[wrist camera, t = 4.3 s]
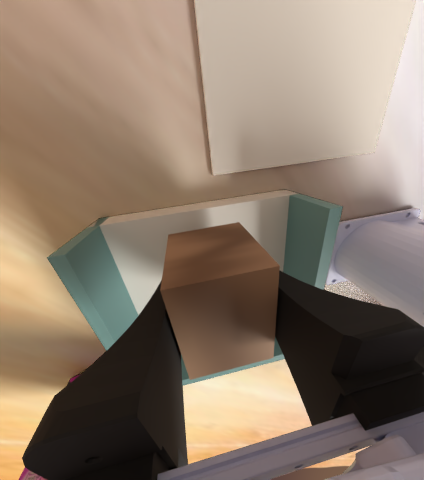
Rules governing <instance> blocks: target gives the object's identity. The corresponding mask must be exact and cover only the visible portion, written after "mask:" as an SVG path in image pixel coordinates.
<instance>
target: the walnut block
mask: <svg viewBox="0 0 424 480" xmlns="http://www.w3.org/2000/svg"><path fill="white" fill-rule="evenodd" d="M279 270H280V265H279V264H278V263H277V262H276V261H275V260H274V259H273V258H272V257H271V256H270V255H269V254H268V253H267V251H266V250H265V249H264V248H263V247H262V246H261V245H260V244H259V243H258V242H257V241H256V240H255V239H254V238H253V236H252V235H251V234H250V233H249V232H248V231H247V230H246V229H245V228H244V227H243V226H242V225H241V224H240V223H239V222H237V223H231V224H226V225H220V226H214V227H209V228H203V229H197V230H192V231H186V232H180V233H175V234H169V235H168V240H167V247H166V254H165V261H164V268H163V275H162V282H161V289H160V291H161V294H162V297H163V300H164V303H165V306H166V309H167V312H168V315H169V318H170V321H171V324H172V327H173V330H174V333H175V336H176V339H177V343H178V346H179V349H180V352H181V355H182V358H183V361H184V364H185V367H186V370H187V373H188V376H189V379H190V380H192V379H196V378H199V377H203V376H207V375H211V374H214V373H218V372H222V371H226V370H230V369H233V368H237V367H241V366H245V365H249V364H252V363H256V362H260V361H264V360H268V359H271V358H273V357H274V342H275V328H276V313H277V299H278V284H279Z"/></svg>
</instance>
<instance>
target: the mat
mask: <svg viewBox="0 0 424 480" xmlns="http://www.w3.org/2000/svg"><path fill="white" fill-rule="evenodd" d="M415 3H416V0H194V9H195V19H196V28H197V37H198V47H199V56H200V65H201V75H202V84H203V93H204V103H205V112H206V121H207V131H208V140H209V149H210V159H211V168H212V175H213V176H214V175H221V174H228V173H236V172H243V171H250V170H257V169H264V168H271V167H278V166H285V165H292V164H299V163H307V162H314V161H321V160H328V159H335V158H342V157H349V156H356V155H363V154H370V153H374V152H375V149H376V145H377V141H378V138H379V134H380V130H381V127H382V123H383V120H384V116H385V112H386V109H387V105H388V101H389V98H390V94H391V90H392V87H393V83H394V79H395V76H396V72H397V68H398V65H399V61H400V57H401V54H402V50H403V46H404V43H405V39H406V35H407V32H408V28H409V25H410V21H411V17H412V14H413V10H414V6H415Z"/></svg>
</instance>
